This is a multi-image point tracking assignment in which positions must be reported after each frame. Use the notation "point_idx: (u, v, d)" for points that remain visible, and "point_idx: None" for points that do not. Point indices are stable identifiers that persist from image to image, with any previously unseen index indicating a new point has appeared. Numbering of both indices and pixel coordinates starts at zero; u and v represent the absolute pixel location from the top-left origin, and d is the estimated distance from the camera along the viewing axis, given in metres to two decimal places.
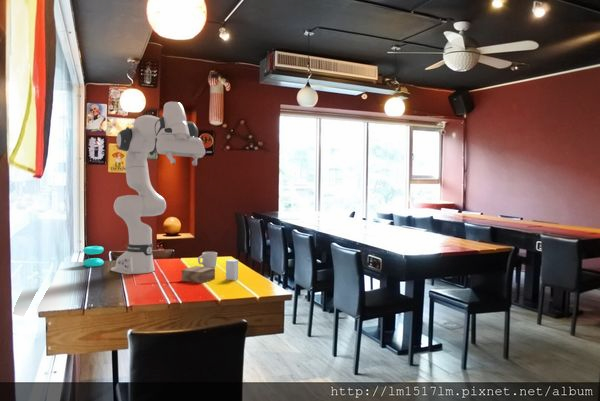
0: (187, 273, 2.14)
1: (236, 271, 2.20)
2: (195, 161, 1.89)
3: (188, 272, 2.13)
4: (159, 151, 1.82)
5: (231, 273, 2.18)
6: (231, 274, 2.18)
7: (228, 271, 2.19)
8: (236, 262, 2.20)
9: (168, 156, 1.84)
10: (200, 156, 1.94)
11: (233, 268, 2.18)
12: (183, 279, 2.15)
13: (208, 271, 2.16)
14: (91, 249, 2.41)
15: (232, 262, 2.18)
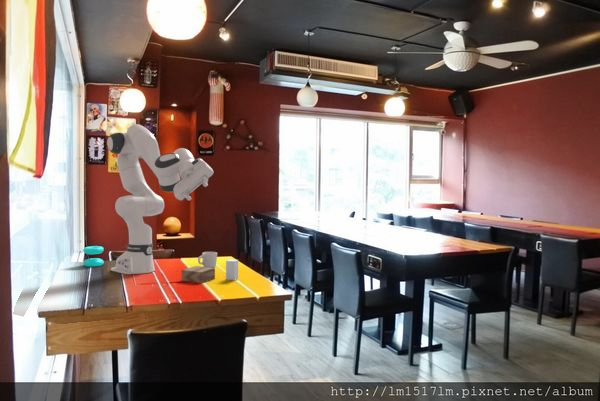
0: (187, 273, 2.14)
1: (236, 271, 2.20)
2: None
3: (188, 272, 2.13)
4: (211, 171, 1.99)
5: (231, 273, 2.18)
6: (231, 274, 2.18)
7: (228, 271, 2.19)
8: (236, 262, 2.20)
9: (206, 179, 1.98)
10: (179, 197, 2.01)
11: (233, 268, 2.18)
12: (183, 279, 2.15)
13: (208, 271, 2.16)
14: (91, 249, 2.41)
15: (232, 262, 2.18)
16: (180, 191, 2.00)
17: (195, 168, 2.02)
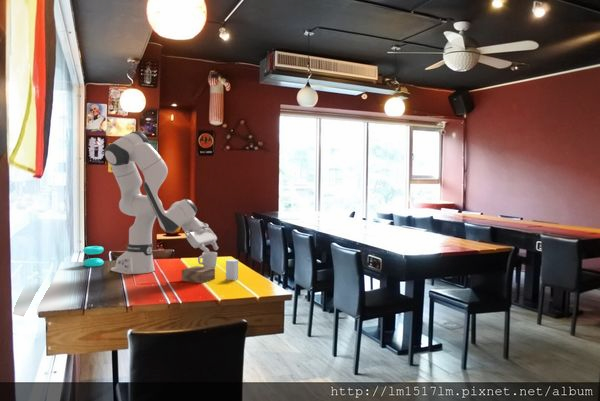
0: (187, 273, 2.14)
1: (236, 271, 2.20)
2: None
3: (188, 272, 2.13)
4: None
5: (231, 273, 2.18)
6: (231, 274, 2.18)
7: (228, 271, 2.19)
8: (236, 262, 2.20)
9: None
10: (198, 245, 2.15)
11: (233, 268, 2.18)
12: (183, 279, 2.15)
13: (208, 271, 2.16)
14: (91, 249, 2.41)
15: (232, 262, 2.18)
16: (200, 240, 2.16)
17: (206, 229, 2.27)
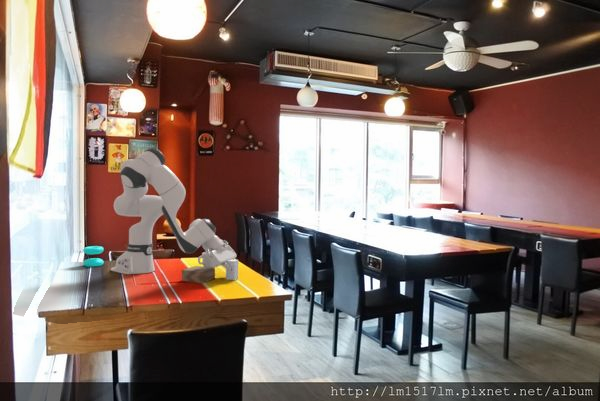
0: (187, 273, 2.14)
1: (236, 271, 2.20)
2: None
3: (188, 272, 2.13)
4: None
5: (231, 273, 2.18)
6: (232, 274, 2.18)
7: (228, 271, 2.19)
8: (236, 262, 2.20)
9: None
10: (220, 264, 2.13)
11: (233, 268, 2.18)
12: (183, 279, 2.15)
13: (208, 271, 2.16)
14: (91, 249, 2.41)
15: (232, 262, 2.18)
16: (222, 259, 2.15)
17: (226, 247, 2.26)
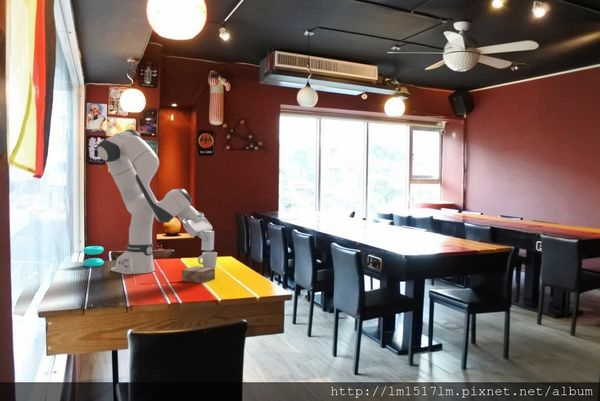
0: (187, 273, 2.14)
1: (212, 242, 2.19)
2: None
3: (188, 272, 2.13)
4: None
5: (207, 244, 2.17)
6: (207, 244, 2.17)
7: (204, 242, 2.17)
8: (212, 233, 2.19)
9: None
10: (195, 233, 2.11)
11: (209, 238, 2.17)
12: (183, 279, 2.15)
13: (208, 271, 2.16)
14: (91, 249, 2.41)
15: (208, 232, 2.17)
16: (197, 229, 2.13)
17: (201, 218, 2.24)
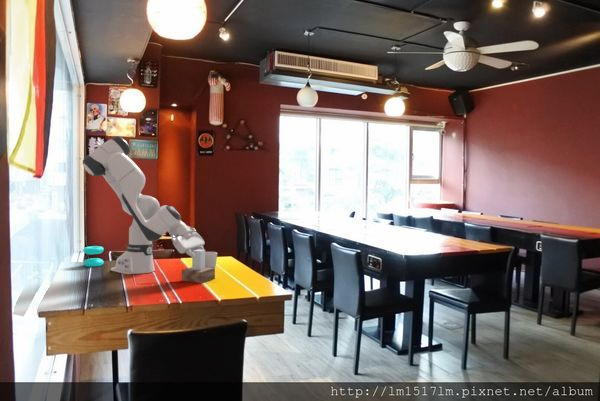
0: (187, 273, 2.14)
1: (203, 261, 2.17)
2: None
3: (188, 272, 2.13)
4: None
5: (197, 263, 2.15)
6: (198, 264, 2.15)
7: (194, 261, 2.16)
8: (203, 252, 2.17)
9: None
10: (185, 250, 2.10)
11: (199, 258, 2.15)
12: (183, 279, 2.15)
13: (208, 271, 2.16)
14: (91, 249, 2.41)
15: (198, 252, 2.15)
16: (187, 245, 2.11)
17: (193, 234, 2.22)
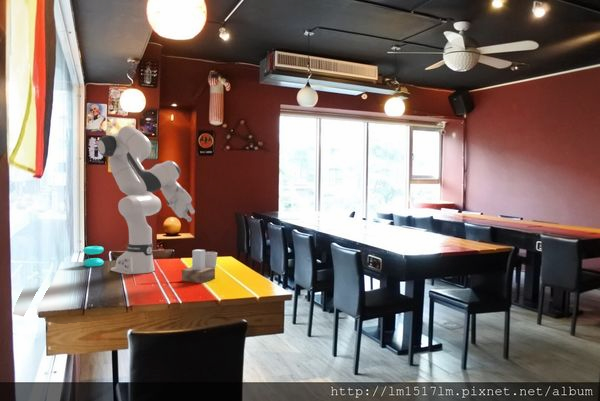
0: (187, 273, 2.14)
1: (203, 261, 2.17)
2: (190, 212, 2.11)
3: (188, 272, 2.13)
4: None
5: (197, 263, 2.15)
6: (198, 264, 2.15)
7: (194, 261, 2.16)
8: (203, 252, 2.17)
9: None
10: (189, 201, 2.09)
11: (199, 258, 2.15)
12: (183, 279, 2.15)
13: (208, 271, 2.16)
14: (91, 249, 2.41)
15: (198, 252, 2.15)
16: None
17: None
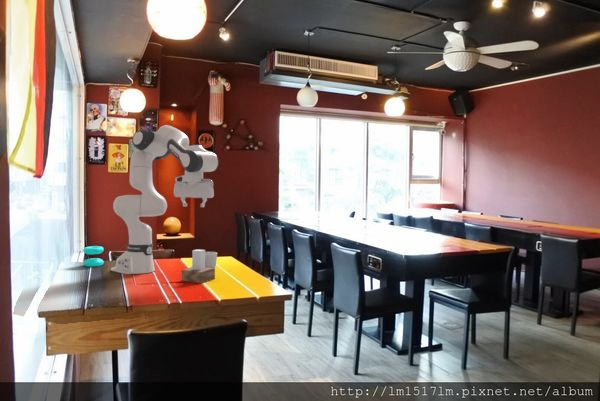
0: (187, 273, 2.14)
1: (203, 261, 2.17)
2: (201, 205, 2.21)
3: (188, 272, 2.13)
4: None
5: (197, 263, 2.15)
6: (198, 264, 2.15)
7: (194, 261, 2.16)
8: (203, 252, 2.17)
9: None
10: None
11: (199, 258, 2.15)
12: (183, 279, 2.15)
13: (208, 271, 2.16)
14: (91, 249, 2.41)
15: (198, 252, 2.15)
16: None
17: None
